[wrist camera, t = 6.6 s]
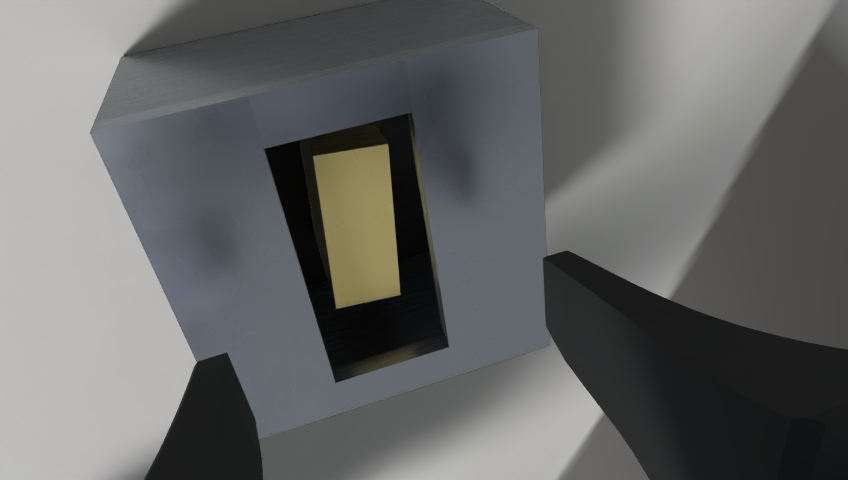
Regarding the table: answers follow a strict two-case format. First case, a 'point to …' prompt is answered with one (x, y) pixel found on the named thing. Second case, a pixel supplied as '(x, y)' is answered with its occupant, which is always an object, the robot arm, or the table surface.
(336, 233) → the block
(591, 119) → the table surface
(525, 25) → the box
